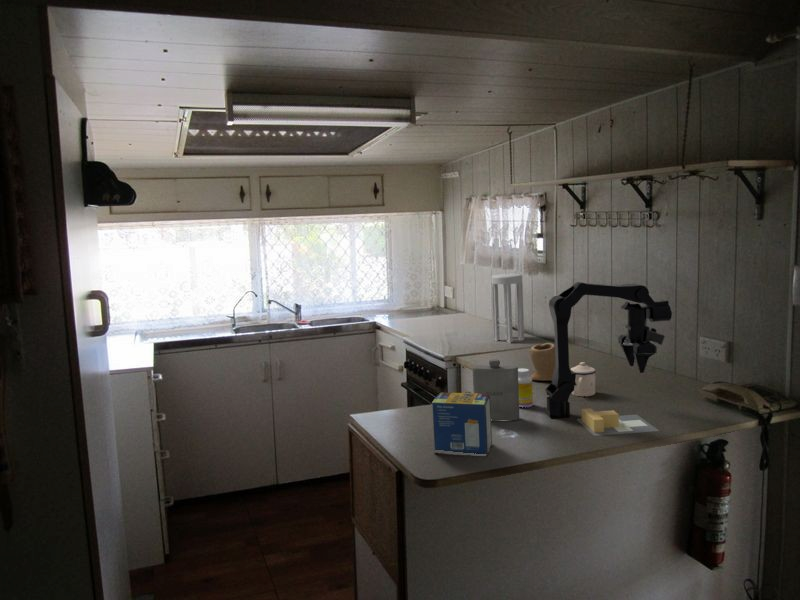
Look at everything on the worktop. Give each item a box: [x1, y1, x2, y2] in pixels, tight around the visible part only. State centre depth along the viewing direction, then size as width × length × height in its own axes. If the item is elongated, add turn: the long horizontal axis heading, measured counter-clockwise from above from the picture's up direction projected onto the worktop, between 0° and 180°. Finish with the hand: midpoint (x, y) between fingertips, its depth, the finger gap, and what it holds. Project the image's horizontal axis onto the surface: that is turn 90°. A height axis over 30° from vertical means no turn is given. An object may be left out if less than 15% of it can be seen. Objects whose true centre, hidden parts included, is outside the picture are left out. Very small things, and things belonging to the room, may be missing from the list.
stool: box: [490, 273, 525, 344], centre depth 334 cm, size 16×16×35 cm
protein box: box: [431, 392, 493, 454], centre depth 183 cm, size 10×15×16 cm
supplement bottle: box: [518, 368, 534, 409], centre depth 221 cm, size 7×7×13 cm
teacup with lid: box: [570, 361, 596, 397], centre depth 231 cm, size 12×9×12 cm
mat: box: [576, 414, 660, 437], centre depth 197 cm, size 20×16×1 cm
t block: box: [581, 408, 620, 433], centre depth 196 cm, size 9×11×4 cm
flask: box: [471, 358, 520, 421], centre depth 209 cm, size 15×6×20 cm, turn 74°
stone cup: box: [529, 342, 556, 382], centre depth 252 cm, size 15×12×15 cm
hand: (636, 369), depth 207 cm, fingers open, 9 cm apart
